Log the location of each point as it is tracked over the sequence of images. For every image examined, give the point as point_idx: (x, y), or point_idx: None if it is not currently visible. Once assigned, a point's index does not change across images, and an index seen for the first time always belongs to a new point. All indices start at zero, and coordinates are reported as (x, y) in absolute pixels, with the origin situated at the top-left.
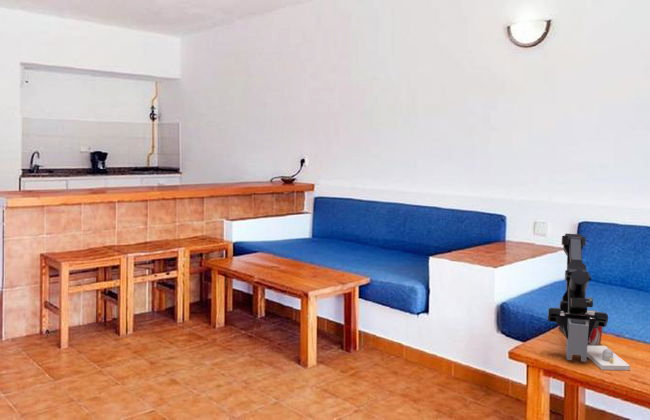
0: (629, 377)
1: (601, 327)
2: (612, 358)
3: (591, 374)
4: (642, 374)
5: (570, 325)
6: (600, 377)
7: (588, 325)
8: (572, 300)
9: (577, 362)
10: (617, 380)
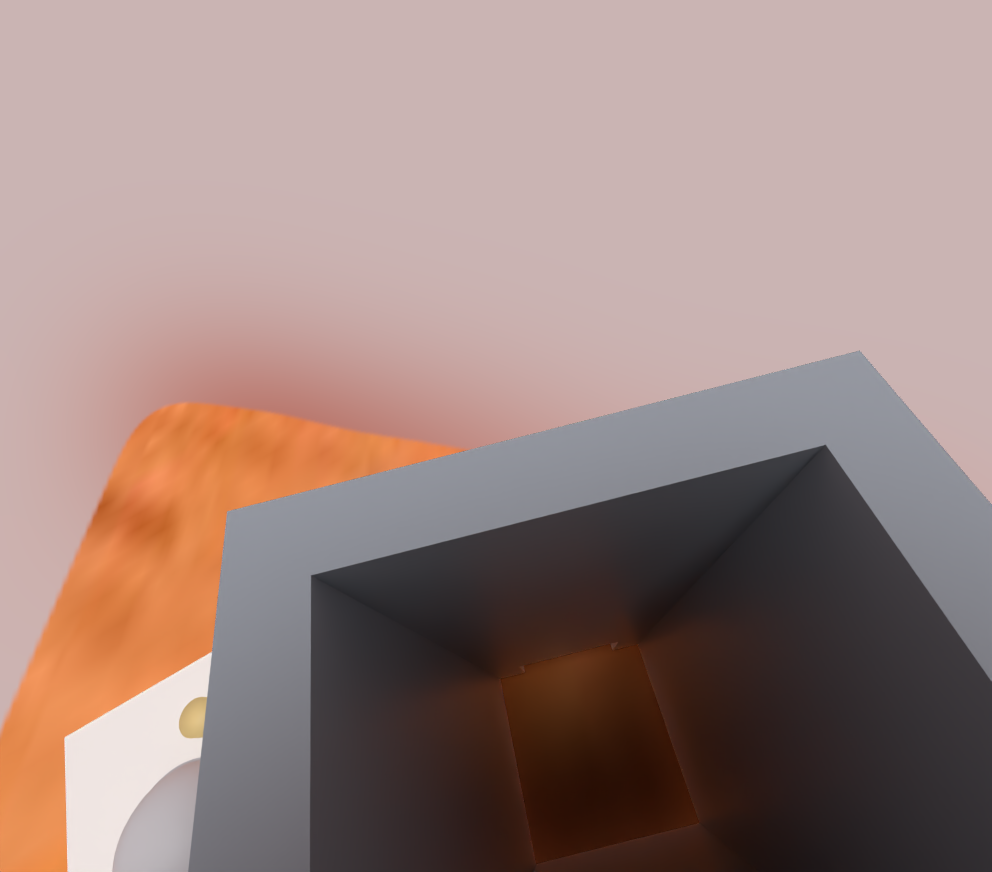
0: (163, 554)
1: None
2: (185, 726)
3: (420, 454)
4: (31, 688)
5: (790, 389)
6: (363, 438)
7: (225, 558)
8: None
9: (556, 664)
10: (261, 453)
